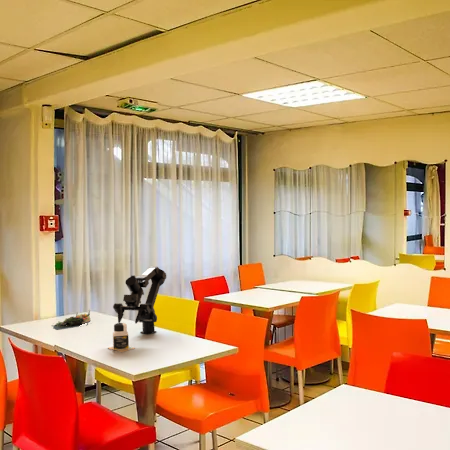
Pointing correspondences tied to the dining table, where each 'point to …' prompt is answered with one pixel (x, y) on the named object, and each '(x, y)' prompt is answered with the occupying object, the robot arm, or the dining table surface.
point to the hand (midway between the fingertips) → (127, 322)
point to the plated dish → (73, 322)
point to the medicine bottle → (120, 337)
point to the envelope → (122, 349)
